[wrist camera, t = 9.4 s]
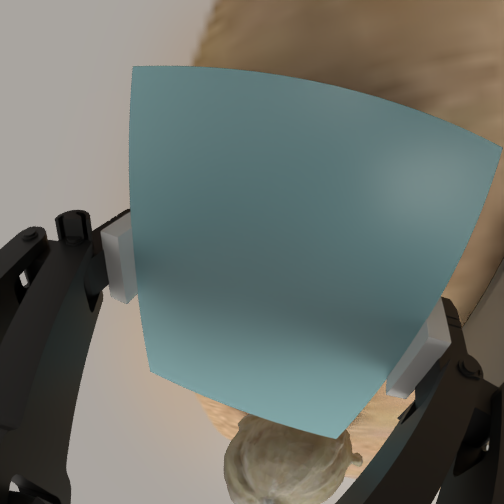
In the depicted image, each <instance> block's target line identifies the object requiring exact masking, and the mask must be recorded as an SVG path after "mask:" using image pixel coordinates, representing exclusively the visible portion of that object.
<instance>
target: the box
mask: <svg viewBox="0 0 504 504" xmlns="http://www.w3.org/2000/svg"><path fill="white" fill-rule="evenodd" d="M462 331H463V335H464V339H465V343H466V348H467V352H468V354H469V355H471V356H472V357H474V358H475V359H476V360H477V361H478V363H479V364H480V366H481V367H482V370H483V373H484V375H483V379H485V380H486V381H488V382H490V383H492V384H493V385H495V386H497V387H499V386H500V385H501V384H502V383H503V382H504V258H503V260H502V262H501V264H500V266H499V268H498V270H497V271H496V273H495V275H494V277H493V279H492V281H491V282H490V284H489V286H488V288H487V289H486V291H485V293H484V295H483V296H482V298H481V300H480V301H479V303H478V304H477V306H476V308H475V309H474V311H473V312H472V314H471V316H470V317H469V319H468V320H467V322H466V323H465V325H464V326H463V328H462ZM488 448H489V442H488V443H487V447H486V450H488Z"/></svg>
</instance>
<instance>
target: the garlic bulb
mask: <svg viewBox="0 0 504 504" xmlns="http://www.w3.org/2000/svg"><path fill="white" fill-rule="evenodd" d="M238 426H239V431H238V433H237V434H236V436H235V437H234V438H233V439H232V441H231V442H230V444H229V446H228V448H227V450H226V453H225V456H224V478H225V481H226V484H227V488H228V492H229V495H230V498H231V500H232V501H233V503H234V504H320V503H322V502H324V501H326V500H327V499H328V498H330V497H331V496H332V495H333V494H334V492H335V491H336V490H337V489H338V487H339V486H340V485H341V483H342V482H343V479H344V475H345V472H346V470H347V468H348V466H350V465H351V464H354V465H356V466H357V467H360V466H361V465H362V463H363V460H362V456H361V455H360V454H359V453H355V454H353V453H352V445H351V441H350V434H349V433H348V432H347V430H346V429H345V430H344V431H343V432H342V433H341V434H340V436H339V437H338V438H337V439H334V438H329V437H325V436H322V435H318V434H314V433H310V432H307V431H303V430H299V429H296V428H293V427H289V426H286V425H283V424H280V423H276V422H273V421H270V420H267V419H264V418H261V417H258V416H255V415H252V414H249V415H247V416H245V417H244V418H243V419H242V420H241V421H240V422H239V423H238Z"/></svg>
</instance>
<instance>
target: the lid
mask: <svg viewBox="0 0 504 504" xmlns="http://www.w3.org/2000/svg"><path fill="white" fill-rule="evenodd" d="M132 72H133V73H132V85H131V100H130V101H131V102H130V123H129V184H130V185H129V187H130V212H131V227H132V235H133V248H134V259H135V270H136V279H137V288H138V299H139V307H140V314H141V321H142V327H143V333H144V340H145V345H146V351H147V357H148V361H149V367H150V371H151V372H153V373H155V374H157V375H159V376H161V377H163V378H165V379H167V380H169V381H171V382H173V383H176V384H178V385H180V386H182V387H184V388H187V389H189V390H191V391H194V392H196V393H198V394H201V395H203V396H205V397H208V398H210V399H213V400H215V401H218V402H220V403H223V404H225V405H228V406H230V407H233V408H236V409H238V410H241V411H244V412H247V413H250V414H252V415H255V416H258V417H261V418H264V419H267V420H270V421H273V422H276V423H280V424H283V425H286V426H289V427H293V428H296V429H299V430H303V431H307V432H310V433H314V434H318V435H322V436H325V437H329V438H334V439H337V438H338V437H339V436H340V434H341V433H342V432H343V431H344V430H345V429H346V428H347V427H348V426H349V424H350V423H351V422H352V421H353V420H354V419H355V418H356V416H357V415H358V414H359V413H360V412H361V411H362V409H363V408H364V407H365V406H366V405H367V403H368V402H369V401H370V400H371V398H372V397H373V396H374V395H375V393H376V392H377V391H378V390H379V388H380V387H381V386H382V384H383V383H384V382H385V380H386V379H387V377H388V375H389V374H390V373H391V371H392V370H393V369H394V367H395V366H396V364H397V363H398V362H399V360H400V359H401V357H402V356H403V354H404V353H405V351H406V350H407V349H408V347H409V346H410V344H411V343H412V341H413V339H414V338H415V336H416V335H417V333H418V332H419V330H420V329H421V327H422V325H423V324H424V322H425V321H426V319H428V317H429V315H430V314H431V312H432V310H433V308H434V307H435V305H436V303H437V302H438V300H439V298H440V296H441V295H442V293H443V291H444V289H445V287H446V285H447V284H448V282H449V280H450V278H451V276H452V274H453V272H454V270H455V268H456V266H457V264H458V262H459V260H460V258H461V256H462V254H463V252H464V250H465V248H466V245H467V243H468V241H469V239H470V237H471V234H472V232H473V230H474V227H475V225H476V223H477V220H478V218H479V215H480V213H481V210H482V208H483V205H484V203H485V200H486V197H487V195H488V192H489V189H490V186H491V184H492V181H493V178H494V175H495V172H496V169H497V165H498V162H499V159H500V155H501V152H502V149H503V148H502V147H500V146H498V145H497V144H495V143H493V142H491V141H489V140H487V139H485V138H483V137H481V136H478V135H476V134H474V133H472V132H470V131H468V130H465V129H463V128H461V127H459V126H456V125H454V124H452V123H449V122H447V121H444V120H442V119H440V118H437V117H434V116H432V115H429V114H427V113H424V112H421V111H419V110H416V109H413V108H410V107H407V106H404V105H401V104H398V103H395V102H392V101H389V100H386V99H382V98H379V97H376V96H372V95H369V94H365V93H362V92H358V91H354V90H350V89H346V88H342V87H338V86H334V85H329V84H325V83H320V82H316V81H311V80H305V79H300V78H295V77H289V76H283V75H276V74H270V73H262V72H255V71H246V70H237V69H226V68H213V67H194V66H134V67H133V71H132Z"/></svg>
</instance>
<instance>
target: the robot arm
mask: <svg viewBox="0 0 504 504" xmlns="http://www.w3.org/2000/svg"><path fill="white" fill-rule="evenodd" d="M55 222H56V227H57V233H58V238H59V240H58V241H53V240H48V239H47V235H46V231H45V229H44V228H42V227H29V228H27V229H25V230H23V231H21V232H20V233H19V234H18V235H16V236H15V237H14V238H13V239H12V240H10V241H9V242H8V243H7V244H6V245H5V246H4V247H2V248H1V249H0V504H70V503H71V485H70V480H69V478H68V475H67V471H66V462H67V454H68V447H69V440H70V434H71V428H72V422H73V416H74V411H75V406H76V400H77V396H78V391H79V386H80V382H81V378H82V373H83V369H84V365H85V361H86V357H87V353H88V349H89V345H90V342H91V338H92V335H93V331H94V328H95V324H96V321H97V317H98V314H99V311H100V308H101V305H102V302H103V292H102V290H103V289H104V288H105V287H106V286H107V285H108V284H109V289H110V295H111V297H113V298H114V299H117V300H119V301H121V302H123V303H126V304H128V303H129V302H130V300H132V298H134V296H135V295H137V294H138V288H137V279H136V270H135V259H134V248H133V235H132V227H131V212H130V209H127V210H125V211H123V212H122V213H120V214H118V215H117V216H115V217H114V218H112V219H111V220H110V221H107V222H106V223H104V224H103V225H101V226H100V227H98V228H96V229H95V230H93V231H92V228H91V221H90V215H89V213H88V212H86V211H83V210H72V211H68V212H65V213H62V214H60V215H58V216H57V217H56V218H55ZM23 271H24V273H25V276H26V279H27V281H28V283H27V285H25V286H24V287H23V285H22V283H21V280H20V277H19V275H20V274H21V273H22V272H23ZM483 375H484V373H483V370H482V367H481V366H480V364H479V363H478V361H477V360H476V359H475V358H474V357H472V356H471V355H469V354H468V352H467V348H466V343H465V339H464V335H463V331H462V329H461V323H460V321H459V316H458V312H457V309H456V308H455V306H454V305H453V303H452V302H451V300H450V299H447V298H444V297H441V296H440V298H439V300H438V302H437V303H436V305H435V307H434V308H433V310H432V312H431V314H430V315H429V317H428V319H426V321H425V322H424V324H423V325H422V327H421V329H420V330H419V332H418V333H417V335H416V336H415V338H414V339H413V341H412V343H411V344H410V346H409V347H408V349H407V350H406V351H405V353H404V354H403V356H402V357H401V359H400V360H399V362H398V363H397V364H396V366H395V367H394V369H393V370H392V371H391V373H390V374H389V375H388V377H387V384H386V395H390V396H394V397H399V398H403V399H407V397H408V396H409V395H410V394H411V393H412V392H413V391H414V390H415V400H414V401H413V403H412V404H411V405H410V406H409V407H408V408H407V409H406V410H405V411H404V412H403V413H402V414H401V415H400V416H399V417H398V419H399V420H400V421H399V423H398V424H397V426H396V427H395V429H394V430H393V431H392V433H391V434H390V436H389V437H388V439H387V440H386V442H385V443H384V444H383V446H382V447H381V449H380V450H379V451H378V453H377V454H376V455H375V457H374V458H373V459H372V461H371V462H370V463H369V464H368V466H367V467H366V468H365V470H364V471H363V472H362V473H361V474H360V476H359V477H358V478H357V479H356V481H355V482H354V483H353V484H352V485H351V487H350V488H349V489H348V490H347V491H346V492H345V493H344V494H343V496H342V497H341V498H340V499H339V500H338V501H337V502H336V503H335V504H431V503H432V501H433V500H434V498H435V496H436V494H437V492H438V491H439V489H440V492H439V495H438V499H437V502H436V504H504V382H503V383H502V384H501V385H500V386H499V387H497V386H495V385H493V384H492V383H490V382H488V381H486V380H485V379H483ZM488 442H489V448H488V450H486V447H487V443H488ZM11 481H12V482H14V483H15V484H16V485H17V486H18V488H19V491H20V492H15V491H9V486H10V482H11ZM440 487H441V488H440Z"/></svg>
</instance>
